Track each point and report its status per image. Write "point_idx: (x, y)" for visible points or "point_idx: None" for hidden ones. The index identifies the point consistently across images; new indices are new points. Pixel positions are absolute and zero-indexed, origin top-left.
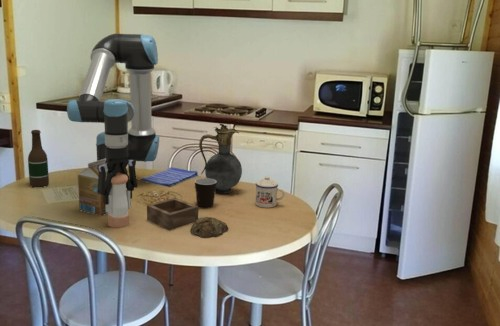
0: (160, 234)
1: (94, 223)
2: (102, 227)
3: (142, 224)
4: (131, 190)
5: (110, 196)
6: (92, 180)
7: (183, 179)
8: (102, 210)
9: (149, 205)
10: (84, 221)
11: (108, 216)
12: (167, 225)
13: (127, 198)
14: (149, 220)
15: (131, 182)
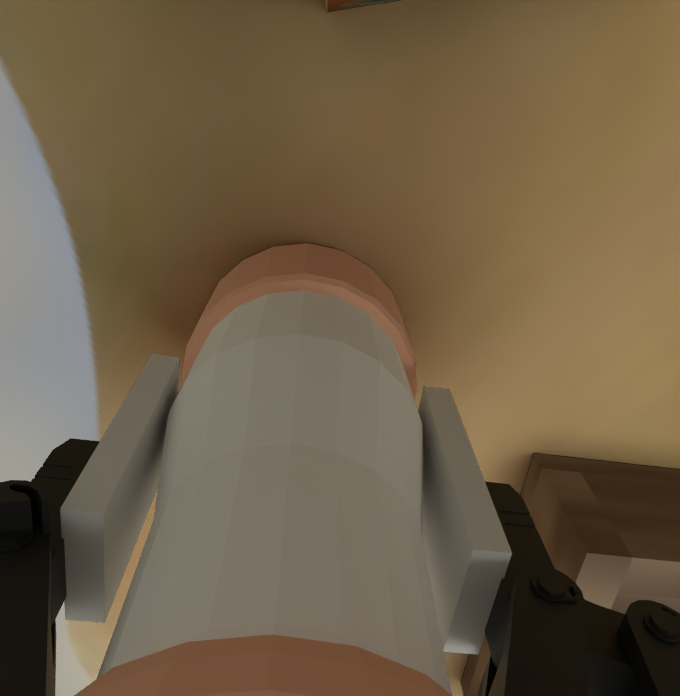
0: None
1: (130, 156)
2: (133, 304)
3: None
4: (481, 685)
5: (90, 609)
6: None
7: None
8: (354, 2)
9: (600, 569)
10: (74, 7)
11: (186, 351)
12: (473, 689)
13: (430, 529)
14: (524, 486)
15: (655, 692)
